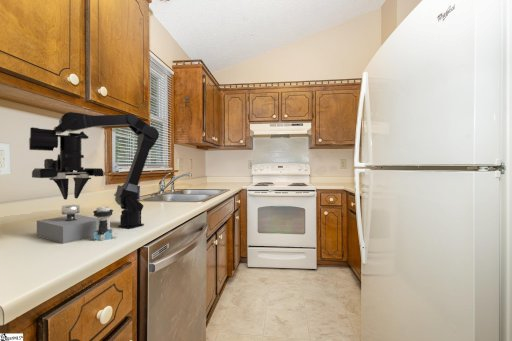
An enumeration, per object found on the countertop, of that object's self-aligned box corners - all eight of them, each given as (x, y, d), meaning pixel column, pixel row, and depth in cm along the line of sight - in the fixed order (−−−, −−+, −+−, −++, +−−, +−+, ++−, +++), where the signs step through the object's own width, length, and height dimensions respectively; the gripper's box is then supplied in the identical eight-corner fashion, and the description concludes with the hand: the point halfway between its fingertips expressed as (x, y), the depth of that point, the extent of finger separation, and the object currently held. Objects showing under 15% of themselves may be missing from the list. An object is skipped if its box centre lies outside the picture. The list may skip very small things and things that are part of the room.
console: (76, 228, 93) (76, 214, 93) (103, 234, 85) (103, 219, 85) (36, 235, 82) (36, 220, 82) (63, 243, 75) (63, 226, 75)
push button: (118, 235, 84) (118, 205, 84) (116, 240, 79) (116, 208, 79) (94, 237, 81) (94, 206, 81) (91, 242, 76) (91, 209, 76)
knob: (74, 226, 87) (74, 204, 87) (82, 227, 85) (82, 205, 85) (58, 229, 83) (58, 206, 83) (66, 231, 80) (66, 207, 80)
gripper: (86, 153, 95) (86, 194, 96) (23, 150, 79) (23, 200, 79) (104, 153, 90) (104, 196, 90) (41, 149, 74) (41, 203, 74)
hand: (70, 198), depth 84 cm, fingers open, 3 cm apart
